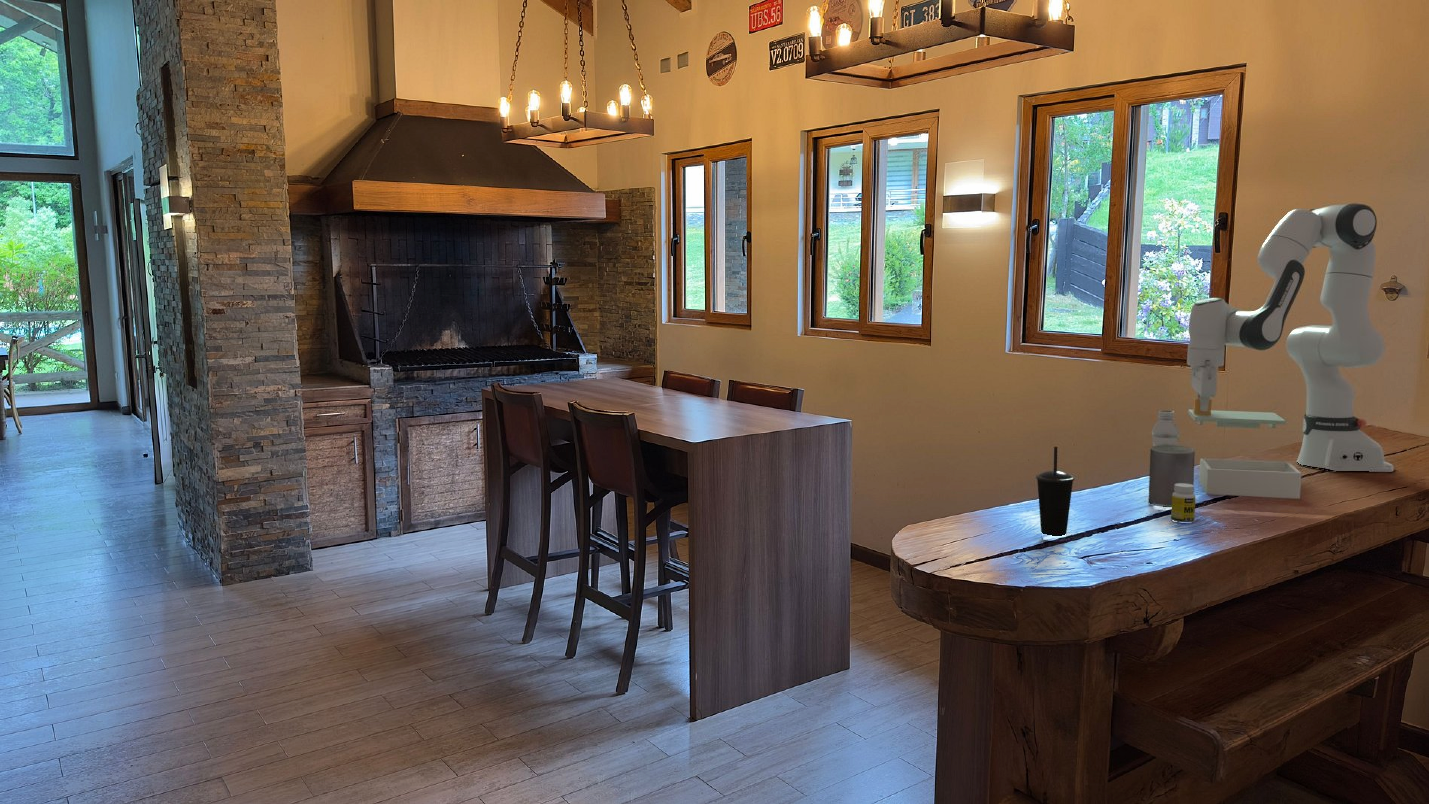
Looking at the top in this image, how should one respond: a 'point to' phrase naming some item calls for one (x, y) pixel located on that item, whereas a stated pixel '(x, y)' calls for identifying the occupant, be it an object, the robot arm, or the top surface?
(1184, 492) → the supplement bottle
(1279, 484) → the tub
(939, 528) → the top surface
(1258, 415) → the lid
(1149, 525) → the top surface
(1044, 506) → the drinking cup
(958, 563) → the top surface
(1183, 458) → the pillar candle
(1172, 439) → the plastic bottle
